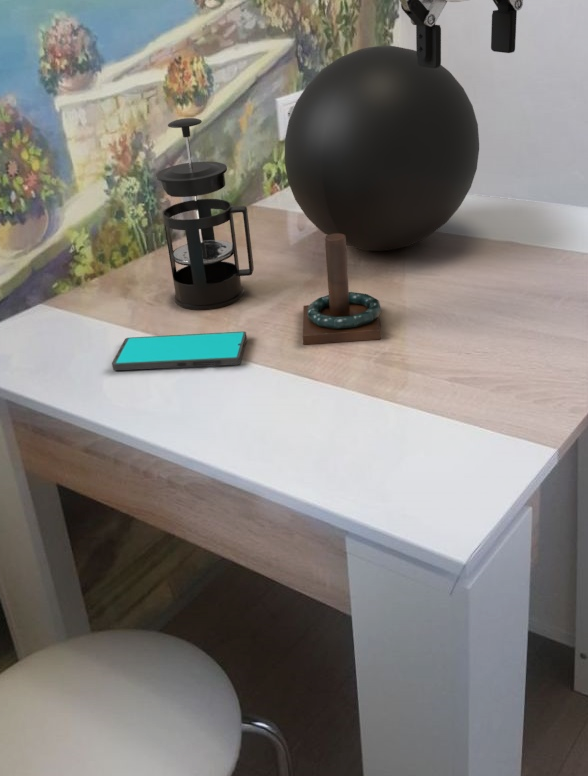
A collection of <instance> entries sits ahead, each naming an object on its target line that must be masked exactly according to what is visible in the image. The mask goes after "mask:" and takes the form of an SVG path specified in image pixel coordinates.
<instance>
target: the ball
mask: <svg viewBox="0 0 588 776" xmlns="http://www.w3.org/2000/svg"><path fill="white" fill-rule="evenodd" d="M287 114H288V115H290V117H289V119H288V122H287V127H286V133H285V137H284V167H285V173H286V178H287V183H288V185H289V188H290V190H291V193H292V195H293V198H294V200H295V202H296V203H297V206H299V208H300V210H301V211H302V212H303V214H304V215H305V216H306V218H307V219H308V221H310V223H312V224H313V225H314V227H316V228H317V229H318V230H319V231H320V232H322V233H323V234H325V235H326V236H327V235H330V234H336V233H339V234H344V235H345V236H346V246H349V247H351V248H355V249H359V250H362V251H363V250H364V251H373V252H374V251H375V252H377V251H378V252H379V251H381V252H382V251H383V252H384V251H391V250H398V249H402V248H405V247H408V246H411V245H413V244H416V243H419V242H420V241H423V240H424V239H426V238H428V237H430V236H431V235H432V234H434V233H435V232H436V231H438V230H439V229H440V228H441V227H443V226H444V225H445V224H447V223H448V221H449V220H450V219H451V218H452V217H453V215H454V214H456V212H457V211H458V209H459V208H460V207H461V205H463V202H464V201H465V199H466V197H467V195H468V193H469V191H470V189H471V188H472V184H473V183H474V179H475V176H476V174H477V173H476V172H477V170H478V162H479V155H480V135H479V123H478V119H477V116H476V113H475V110H474V106H473V104H472V102H471V100H470V98H469V96H468V94H467V92H466V90H465V89H464V87H463V86H462V85H461V84H460V82H459V81H458V80H457V78H456V77H455V76H454V75H453V74H452V73H451V72H450V70H448V69H447V68H445V66H443V65H442V64H441V65H440V66H439V67H438V68H428V67H421V66H419V65H418V58H417V52H416V49H415V50H414V49H409V48H406V47H401V46H395V45H377V46H376V45H375V46H369V47H363V48H360V49H357V50H355V51H352V52H349V53H347V54H344V55H342V56H340V57H338V58H337V59H335V60H334V61H332V62H331V63H329V64H328V65H326V66H325V67H323V68H322V69H321V70H320V71H319V72H318V73H317V74H316V75H315V77H313V78H312V79H311V80H310V82H308V83H307V85H306V86H305V88H304V89H303V91H302V92H301V94H300V96H299V97H298V99H297V100H296V102H295V104H294V107H293V109H292V111H291V114H290V112H288V113H287Z"/></svg>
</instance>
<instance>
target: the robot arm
mask: <svg viewBox="0 0 588 776" xmlns="http://www.w3.org/2000/svg"><path fill="white" fill-rule="evenodd" d="M467 1H469V0H399V2H400V3H401V4H400V8H401V10H402V11H403V12H404V13H405V14H406V16H408V18H409V19H410V23H411V24H412V25H413V26H415V36H416V37H415V39H416V40H415V41H416V43H415V45H416V49H415V51H416V52H417V58H418V65H419V66H421V67H428V68H438V67H439V66H440V65H442V27H441V24H436V22H437V21H438V19H439V17H440V16H441V13H442V12H443V10H444V9H445V7H446V5H447V3H448V2H449V3H460V2H467ZM492 1H493V3H494V5H495V7H496V8H497V9H494V10H492V13H491V33H490V35H491V36H490V50H491V51H492V52H495V53H504V54H512V53H515V51H516V41H517V40H516V37H517V17H518V16H517V13H518V12H519V11H520V10H521V9H522V8H523V5H524V0H492Z"/></svg>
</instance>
